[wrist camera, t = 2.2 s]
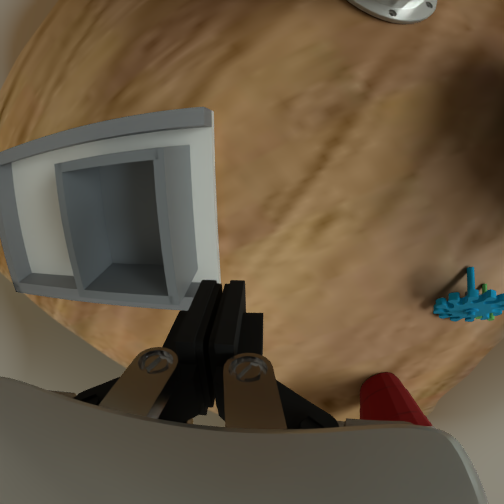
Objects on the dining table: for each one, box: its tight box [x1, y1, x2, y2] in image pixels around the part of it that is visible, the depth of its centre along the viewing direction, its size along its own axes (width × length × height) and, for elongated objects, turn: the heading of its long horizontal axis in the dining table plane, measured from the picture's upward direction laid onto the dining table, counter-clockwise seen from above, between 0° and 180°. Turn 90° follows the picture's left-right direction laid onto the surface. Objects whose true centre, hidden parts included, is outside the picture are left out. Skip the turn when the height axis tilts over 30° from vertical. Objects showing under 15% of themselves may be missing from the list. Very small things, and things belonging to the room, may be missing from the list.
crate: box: [54, 145, 198, 305], centre depth 23 cm, size 12×10×7 cm
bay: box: [0, 107, 221, 311], centre depth 26 cm, size 18×28×4 cm, turn 91°
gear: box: [433, 267, 504, 322], centre depth 26 cm, size 11×6×10 cm
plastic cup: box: [360, 372, 435, 428], centre depth 30 cm, size 11×11×12 cm
